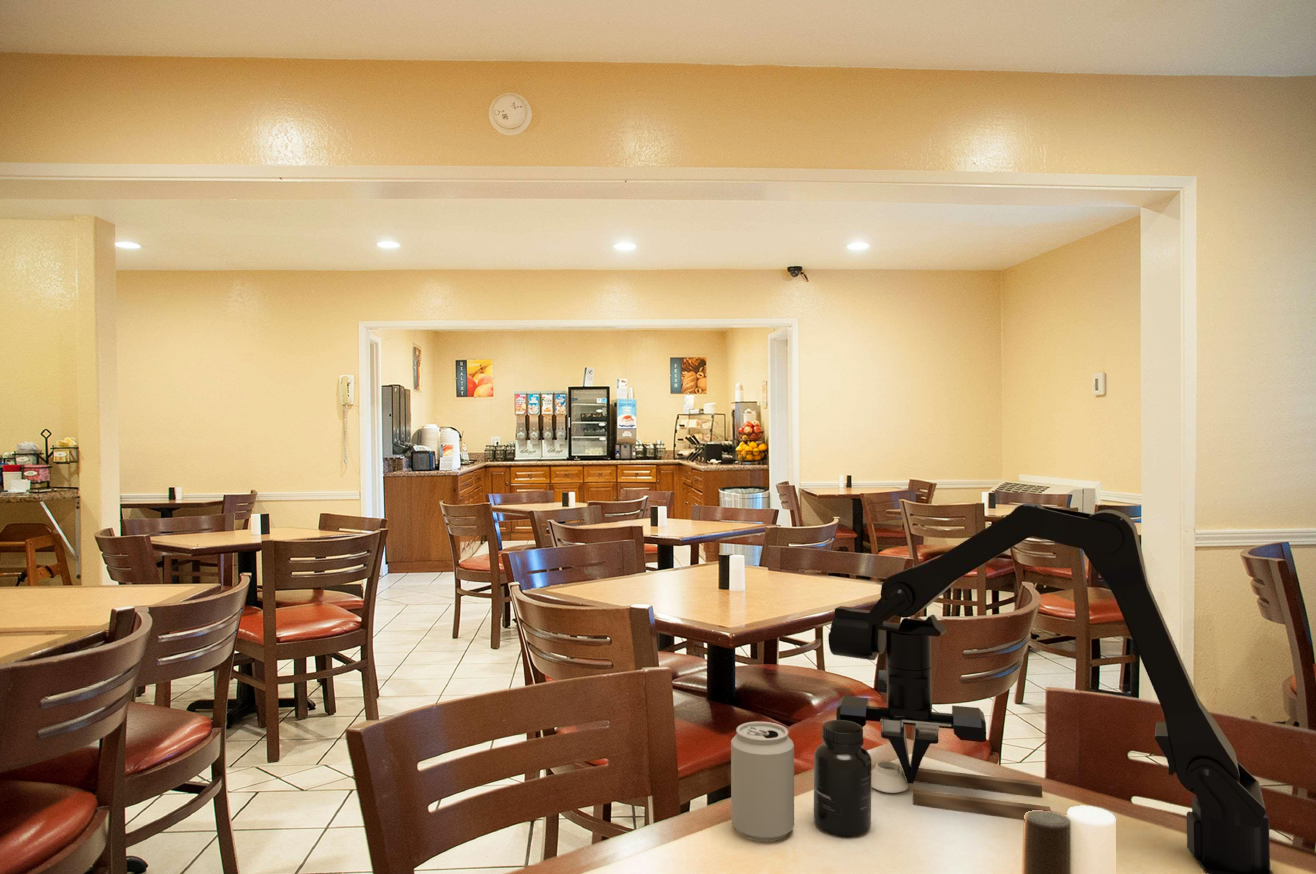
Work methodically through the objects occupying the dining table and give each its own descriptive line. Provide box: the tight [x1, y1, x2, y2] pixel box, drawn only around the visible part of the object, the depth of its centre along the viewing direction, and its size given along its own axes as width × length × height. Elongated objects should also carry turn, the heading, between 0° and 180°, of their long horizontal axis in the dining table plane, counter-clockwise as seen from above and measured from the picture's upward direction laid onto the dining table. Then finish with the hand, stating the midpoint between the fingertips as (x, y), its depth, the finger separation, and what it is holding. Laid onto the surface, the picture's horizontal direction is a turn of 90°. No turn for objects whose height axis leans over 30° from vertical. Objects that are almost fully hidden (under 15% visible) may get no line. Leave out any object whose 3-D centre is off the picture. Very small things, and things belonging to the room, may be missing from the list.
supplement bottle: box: [813, 719, 872, 839], centre depth 95 cm, size 7×7×12 cm
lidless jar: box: [871, 760, 908, 794], centre depth 106 cm, size 5×3×5 cm
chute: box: [912, 767, 1052, 821], centre depth 102 cm, size 16×9×2 cm, turn 71°
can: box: [730, 721, 795, 842], centre depth 94 cm, size 8×8×12 cm
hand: (910, 782), depth 105 cm, fingers closed
